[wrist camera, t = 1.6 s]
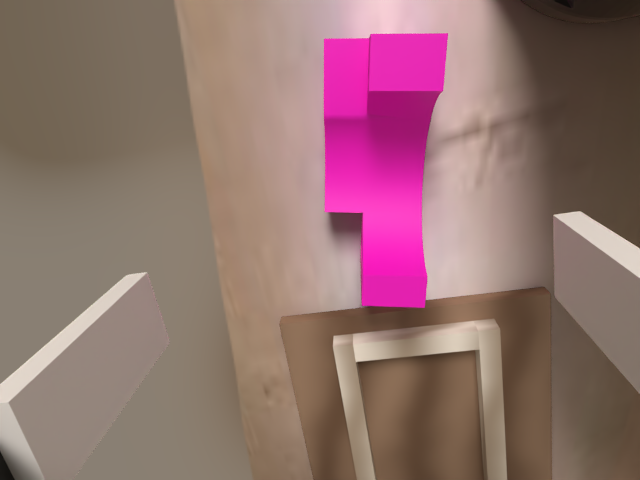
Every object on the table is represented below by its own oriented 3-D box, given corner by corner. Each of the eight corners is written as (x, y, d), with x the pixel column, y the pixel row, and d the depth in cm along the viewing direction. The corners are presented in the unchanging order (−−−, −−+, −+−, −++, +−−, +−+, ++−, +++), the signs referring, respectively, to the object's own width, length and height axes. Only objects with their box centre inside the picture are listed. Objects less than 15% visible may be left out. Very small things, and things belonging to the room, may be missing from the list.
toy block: (328, 43, 30) (320, 34, 23) (425, 43, 30) (447, 33, 23) (327, 258, 35) (320, 304, 28) (410, 260, 35) (424, 307, 28)
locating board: (544, 286, 34) (559, 303, 32) (546, 525, 42) (559, 553, 40) (281, 317, 37) (276, 334, 34) (329, 536, 44) (327, 564, 42)
